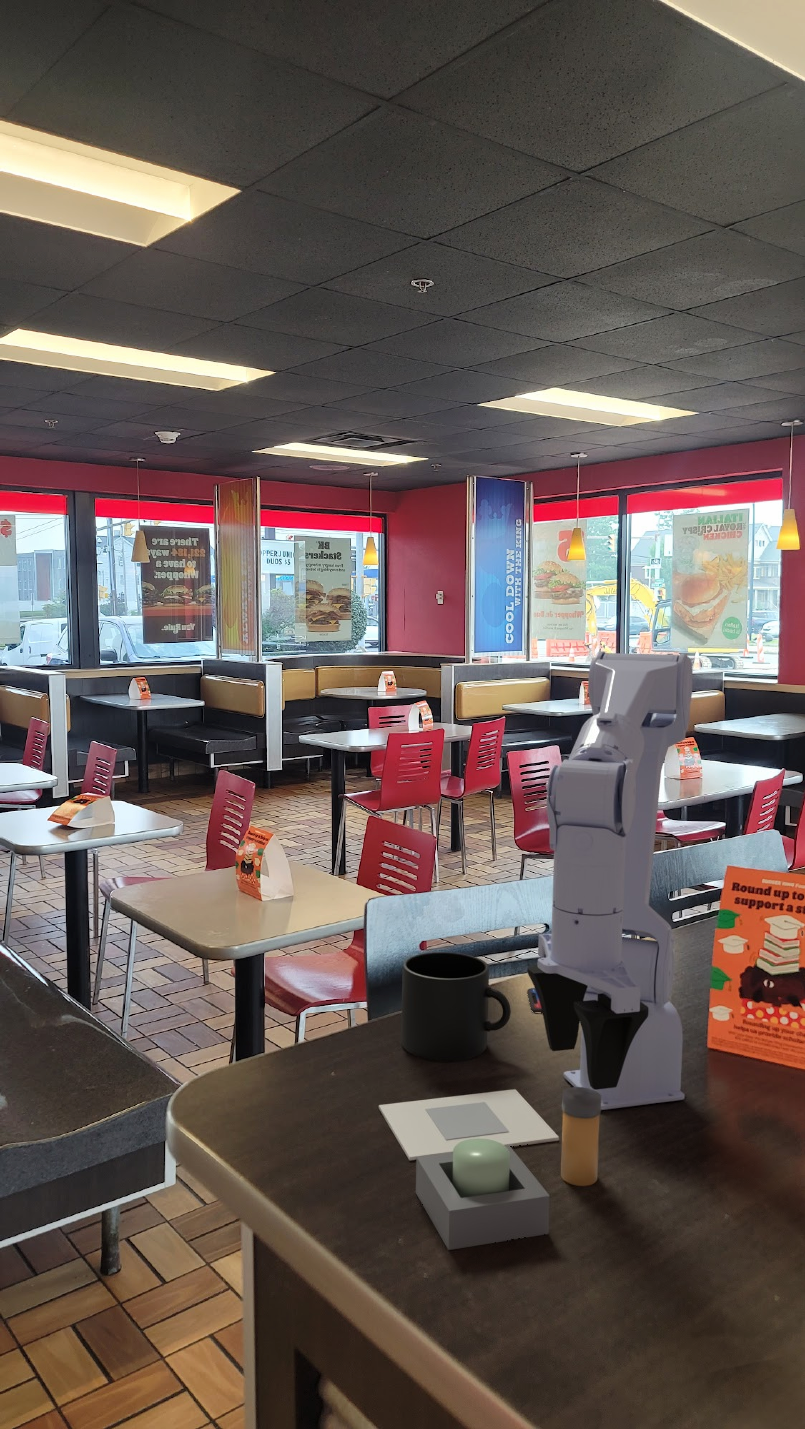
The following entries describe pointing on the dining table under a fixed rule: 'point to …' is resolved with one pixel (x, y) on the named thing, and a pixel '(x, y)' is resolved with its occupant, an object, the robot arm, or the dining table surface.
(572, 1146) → the bottle
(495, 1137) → the paper
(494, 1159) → the button
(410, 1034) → the mug
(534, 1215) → the button housing
